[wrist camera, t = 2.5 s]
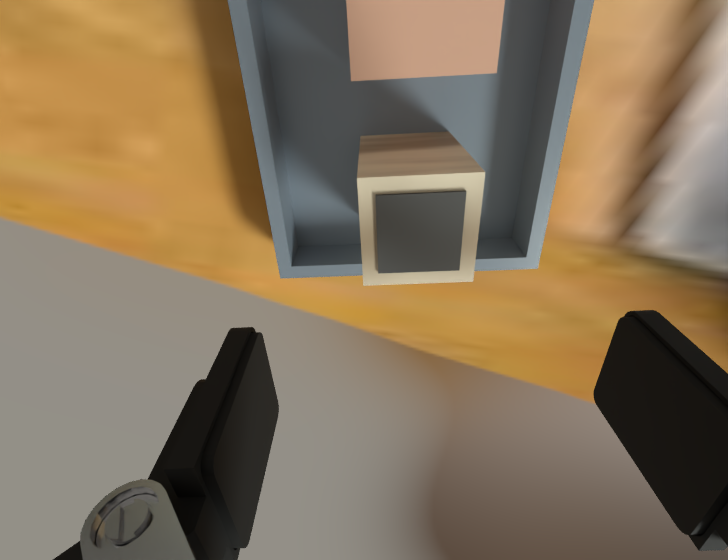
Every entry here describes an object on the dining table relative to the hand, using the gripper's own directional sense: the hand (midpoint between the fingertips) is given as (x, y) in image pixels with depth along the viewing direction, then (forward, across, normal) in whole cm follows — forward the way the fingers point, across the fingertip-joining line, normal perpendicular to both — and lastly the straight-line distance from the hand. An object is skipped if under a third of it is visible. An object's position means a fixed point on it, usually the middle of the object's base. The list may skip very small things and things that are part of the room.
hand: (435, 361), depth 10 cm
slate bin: (+16, -1, -5) cm, 17 cm away
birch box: (+15, -1, -1) cm, 15 cm away
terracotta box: (+15, -1, -9) cm, 18 cm away
